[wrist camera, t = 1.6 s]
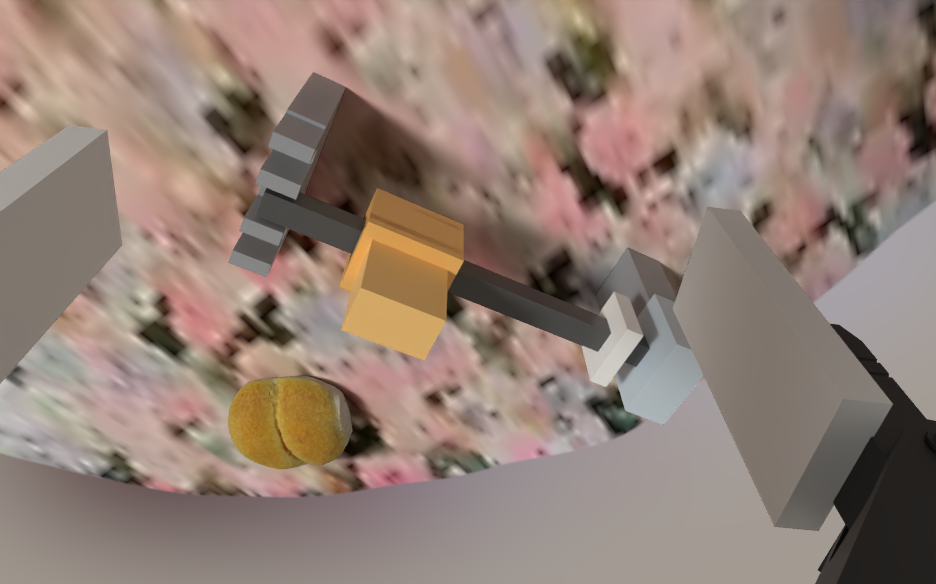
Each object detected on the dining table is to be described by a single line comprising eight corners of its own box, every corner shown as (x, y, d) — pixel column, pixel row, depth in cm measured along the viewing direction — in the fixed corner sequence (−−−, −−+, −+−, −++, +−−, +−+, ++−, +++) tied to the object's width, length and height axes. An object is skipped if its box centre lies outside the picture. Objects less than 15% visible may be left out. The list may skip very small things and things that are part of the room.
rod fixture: (271, 189, 44) (217, 283, 35) (312, 72, 41) (265, 140, 31) (612, 328, 50) (648, 442, 40) (676, 237, 46) (733, 339, 37)
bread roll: (220, 376, 52) (203, 413, 49) (338, 364, 52) (330, 399, 49) (251, 457, 57) (238, 495, 53) (361, 446, 56) (355, 484, 53)
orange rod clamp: (350, 249, 39) (324, 339, 32) (377, 187, 37) (356, 268, 30) (433, 282, 40) (427, 376, 33) (463, 224, 38) (464, 311, 31)
